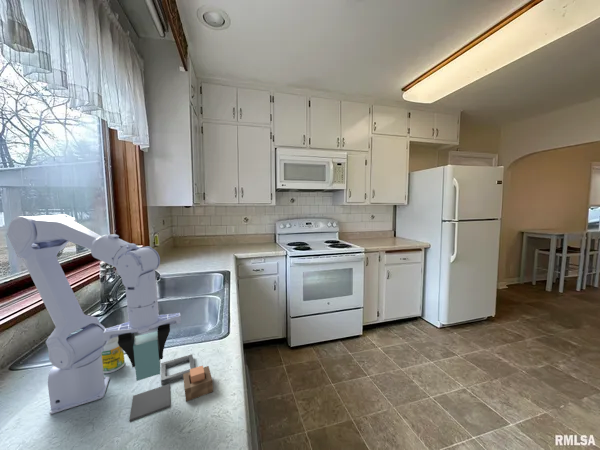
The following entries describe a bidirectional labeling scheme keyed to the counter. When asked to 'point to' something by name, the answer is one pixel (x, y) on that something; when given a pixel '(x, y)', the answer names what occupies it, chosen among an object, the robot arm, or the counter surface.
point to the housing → (198, 385)
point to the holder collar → (170, 363)
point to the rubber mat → (150, 402)
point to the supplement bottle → (112, 356)
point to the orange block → (197, 374)
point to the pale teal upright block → (146, 355)
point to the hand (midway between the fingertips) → (148, 360)
